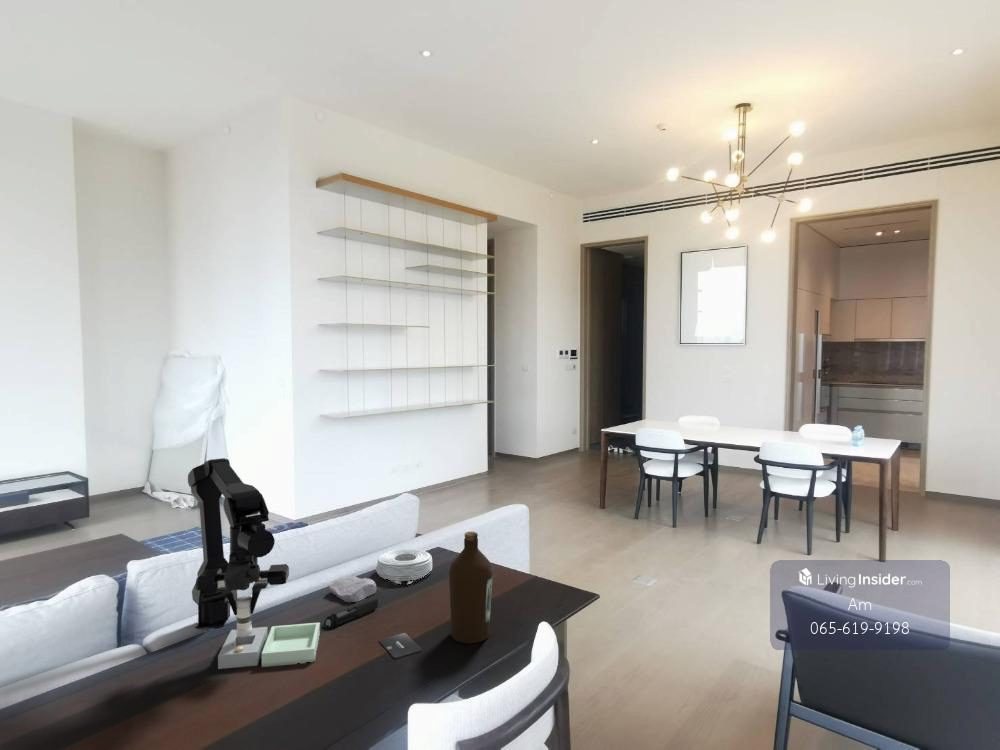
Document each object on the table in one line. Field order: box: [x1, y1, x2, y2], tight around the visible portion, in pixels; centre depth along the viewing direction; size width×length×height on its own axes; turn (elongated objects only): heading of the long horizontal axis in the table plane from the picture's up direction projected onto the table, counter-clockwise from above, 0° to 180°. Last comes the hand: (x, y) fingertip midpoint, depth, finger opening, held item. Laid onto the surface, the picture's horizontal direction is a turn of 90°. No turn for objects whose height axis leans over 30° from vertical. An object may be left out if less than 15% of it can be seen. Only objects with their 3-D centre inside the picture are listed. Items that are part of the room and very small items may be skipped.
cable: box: [375, 547, 433, 586], centre depth 182 cm, size 18×18×6 cm
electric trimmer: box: [323, 598, 379, 630], centre depth 151 cm, size 4×16×3 cm, turn 139°
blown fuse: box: [236, 595, 253, 637], centre depth 132 cm, size 3×3×8 cm
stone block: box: [328, 574, 377, 602], centre depth 165 cm, size 12×5×10 cm
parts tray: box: [261, 622, 321, 668], centre depth 134 cm, size 11×13×3 cm
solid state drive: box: [378, 632, 423, 660], centre depth 136 cm, size 7×10×1 cm
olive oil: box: [448, 531, 493, 644], centre depth 142 cm, size 11×11×25 cm
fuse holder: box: [217, 626, 269, 670], centre depth 132 cm, size 8×12×4 cm, turn 12°
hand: (244, 613), depth 132 cm, fingers closed on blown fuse, 3 cm apart
